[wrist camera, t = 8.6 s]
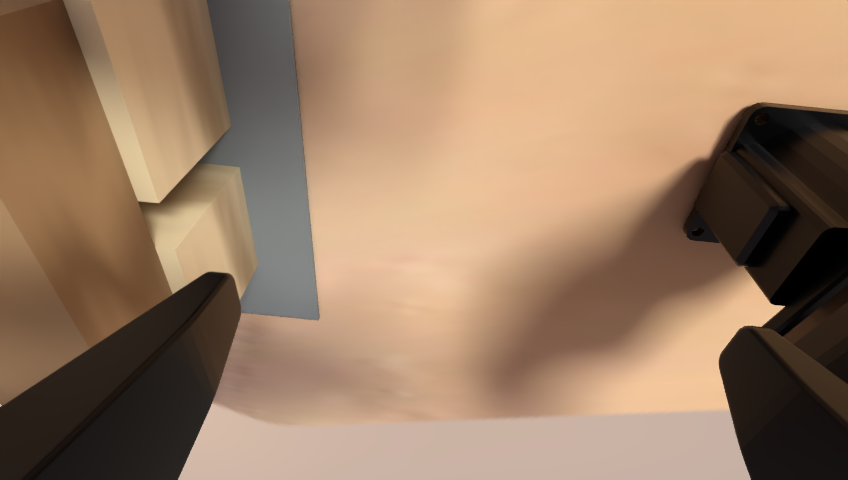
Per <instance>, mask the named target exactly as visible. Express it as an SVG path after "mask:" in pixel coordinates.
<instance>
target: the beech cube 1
mask: <svg viewBox="0 0 848 480" xmlns="http://www.w3.org/2000/svg"><path fill="white" fill-rule="evenodd" d="M63 2H64V4H65V7H66V10H67V13H68V15H69V18H70V21H71V23H72V26H73V29H74V31H75V34H76V37H77V39H78V42H79V45H80V47H81V50H82V53H83V55H84V58H85V61H86V63H87V66H88V69H89V71H90V74H91V77H92V80H93V82H94V85H95V88H96V90H97V93H98V96H99V98H100V101H101V104H102V106H103V109H104V112H105V114H106V117H107V120H108V122H109V125H110V128H111V130H112V133H113V136H114V138H115V141H116V144H117V147H118V149H119V152H120V155H121V157H122V160H123V163H124V165H125V168H126V171H127V173H128V176H129V179H130V181H131V184H132V187H133V189H134V192H135V195H136V197H137V200H138V201H142V202H152V203H160V202H161V201H162V200H163V199H164V198H165V196H166V195H167V194H168V193H169V192H170V191H171V190H172V189H173V188H174V187H175V186H176V185H177V184H178V183H179V181H180V180H181V179H182V178H183V177H184V176H185V175H186V174H187V173H188V172H189V171H190V170H191V169H192V168H193V167H194V165H195V164H196V163H197V162H198V161H199V160H200V159H201V158H202V157H203V156H204V155H205V154H206V153H207V152H208V150H209V149H210V148H211V147H212V146H213V145H214V144H215V143H216V142H217V141H218V140H219V139H220V138H221V137H222V135H223V134H224V133H225V132H226V131H227V130H228V129H229V128H230V127H231V122H230V117H229V112H228V107H227V102H226V97H225V92H224V87H223V81H222V76H221V71H220V66H219V61H218V56H217V51H216V46H215V41H214V35H213V30H212V25H211V20H210V15H209V10H208V5H207V0H63Z"/></svg>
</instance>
